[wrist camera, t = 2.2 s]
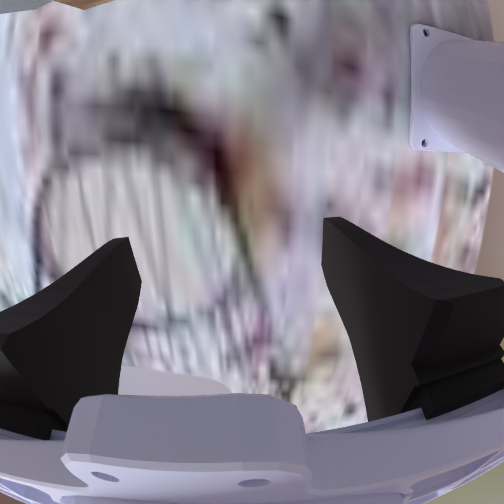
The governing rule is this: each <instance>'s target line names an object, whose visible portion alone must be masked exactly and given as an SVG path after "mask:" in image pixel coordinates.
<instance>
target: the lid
mask: <svg viewBox="0 0 504 504" xmlns="http://www.w3.org/2000/svg"><path fill="white" fill-rule="evenodd" d="M52 1H54V0H0V14H3V13H10V12H17V11H25V10H34V9H37V8H39V7H41V6H43V5H45V4H47V3H50V2H52Z"/></svg>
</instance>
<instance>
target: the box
mask: <svg viewBox="0 0 504 504" xmlns="http://www.w3.org/2000/svg"><path fill="white" fill-rule="evenodd" d="M54 1H57V2H60V3H63V4H67V5H70V6H73V7H76V8H80V9H83V10H85V9H88V8H91V7H94V6H97V5H100V4H104V3H107V2H110V1H114V0H54Z"/></svg>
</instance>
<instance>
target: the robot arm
mask: <svg viewBox="0 0 504 504" xmlns="http://www.w3.org/2000/svg"><path fill="white" fill-rule="evenodd" d="M423 30H425V31H426V33H427V36H425V35H424V34H423ZM410 45H411V112H410V132H409V145H410V147H412V148H413V149H415V150H422V151H441V152H455V153H468V154H470V155H472V156H474V157H476V158H478V159H480V160H482V161H484V162H486V163H487V164H489V165H491V166H493V167H495V168H497V169H498V170H500V171H502V172H503V173H504V42H494V41H477V40H474V39H471V38H468V37H465V36H462V35H459V34H455V33H452V32H449V31H445V30H442V29H438V28H434V27H431V26H427V25H422V24H413V25H411V27H410ZM423 139H425V143H424V145H422V140H423ZM321 265H322V269H323V273H324V276H325V280H326V283H327V287H328V289H329V291H330V294H331V296H332V298H333V301H334V303H335V305H336V308H337V310H338V312H339V314H340V317H341V319H342V321H343V324H344V326H345V328H346V331H347V333H348V336H349V339H350V342H351V345H352V349H353V353H354V356H355V360H356V364H357V368H358V372H359V376H360V381H361V385H362V390H363V395H364V400H365V405H366V411H367V417H368V422H366V423H362V424H357V425H352V426H348V427H343V428H337V429H332V430H327V431H321V432H315V433H308V434H305V429H304V423H303V418H302V416H301V414H300V412H299V411H298V409H297V407H296V405H294V404H291V403H289V402H286V401H284V400H281V399H278V398H276V397H273V396H271V395H264V394H243V393H235V394H219V395H196V396H133V395H132V396H131V395H130V396H129V395H118V387H119V377H120V371H121V364H122V358H123V353H124V349H125V346H126V342H127V339H128V335H129V332H130V329H131V326H132V322H133V319H134V316H135V312H136V309H137V306H138V302H139V296H140V290H141V283H142V281H141V278H140V274H139V271H138V268H137V265H136V261H135V258H134V255H133V251H132V248H131V245H130V241H129V237H124V238H115V239H112V240H111V241H109V242H107V243H106V244H104V245H103V246H101V247H100V248H99V249H97V250H96V251H95V252H94V253H92V254H91V255H90V256H88V257H87V258H86V259H84V260H83V261H82V262H81V263H79V264H78V265H77V266H75V267H74V268H73V269H71V270H70V271H69V272H67V273H66V274H65V275H63V276H62V277H61V278H59V279H58V280H56V281H55V282H54V283H52V284H51V285H49V286H47V287H46V288H44V289H43V290H41V291H40V292H38V293H36V294H34V295H33V296H31V297H29V298H27V299H25V300H23V301H22V302H20V303H18V304H16V305H14V306H12V307H10V308H8V309H5V310H3V311H1V312H0V492H2V493H4V494H7V495H8V496H11V497H13V498H15V499H17V500H19V501H22V502H24V503H27V504H423V503H425V502H427V501H430V500H432V499H435V498H437V497H439V496H441V495H443V494H445V493H447V492H450V491H451V490H454V489H456V488H458V487H460V486H461V485H463V484H465V483H467V482H469V481H471V480H473V479H475V478H476V477H478V476H480V475H482V474H483V473H485V472H487V471H489V470H490V469H492V468H494V467H495V466H497V465H499V464H500V463H502V462H504V363H503V361H502V360H501V358H502V357H503V356H504V350H503V349H502V347H501V346H500V343H501V341H502V339H503V338H504V281H503V280H502V279H500V278H493V277H487V276H480V275H474V274H470V273H466V272H461V271H457V270H453V269H450V268H446V267H443V266H440V265H437V264H434V263H431V262H428V261H425V260H423V259H420V258H418V257H415V256H413V255H411V254H408V253H406V252H404V251H402V250H400V249H397V248H396V247H394V246H392V245H390V244H388V243H386V242H384V241H382V240H380V239H379V238H377V237H375V236H373V235H372V234H370V233H368V232H366V231H365V230H363V229H361V228H360V227H358V226H356V225H355V224H353V223H351V222H349V221H348V220H346V219H344V218H341V217H330V218H324V221H323V245H322V263H321Z"/></svg>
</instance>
